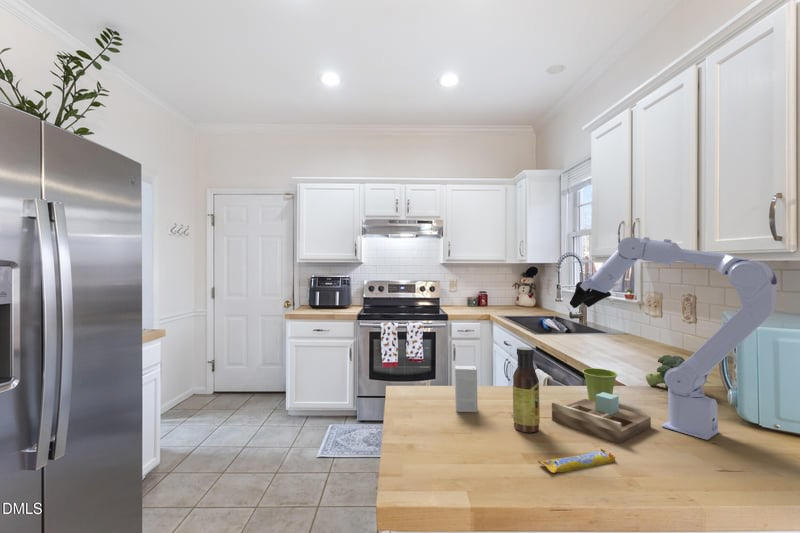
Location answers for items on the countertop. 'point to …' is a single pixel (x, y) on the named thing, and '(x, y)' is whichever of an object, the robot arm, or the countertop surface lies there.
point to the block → (607, 403)
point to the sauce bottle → (526, 393)
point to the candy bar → (578, 461)
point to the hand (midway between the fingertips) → (579, 305)
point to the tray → (600, 420)
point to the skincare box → (466, 388)
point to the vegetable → (664, 369)
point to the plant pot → (599, 381)
